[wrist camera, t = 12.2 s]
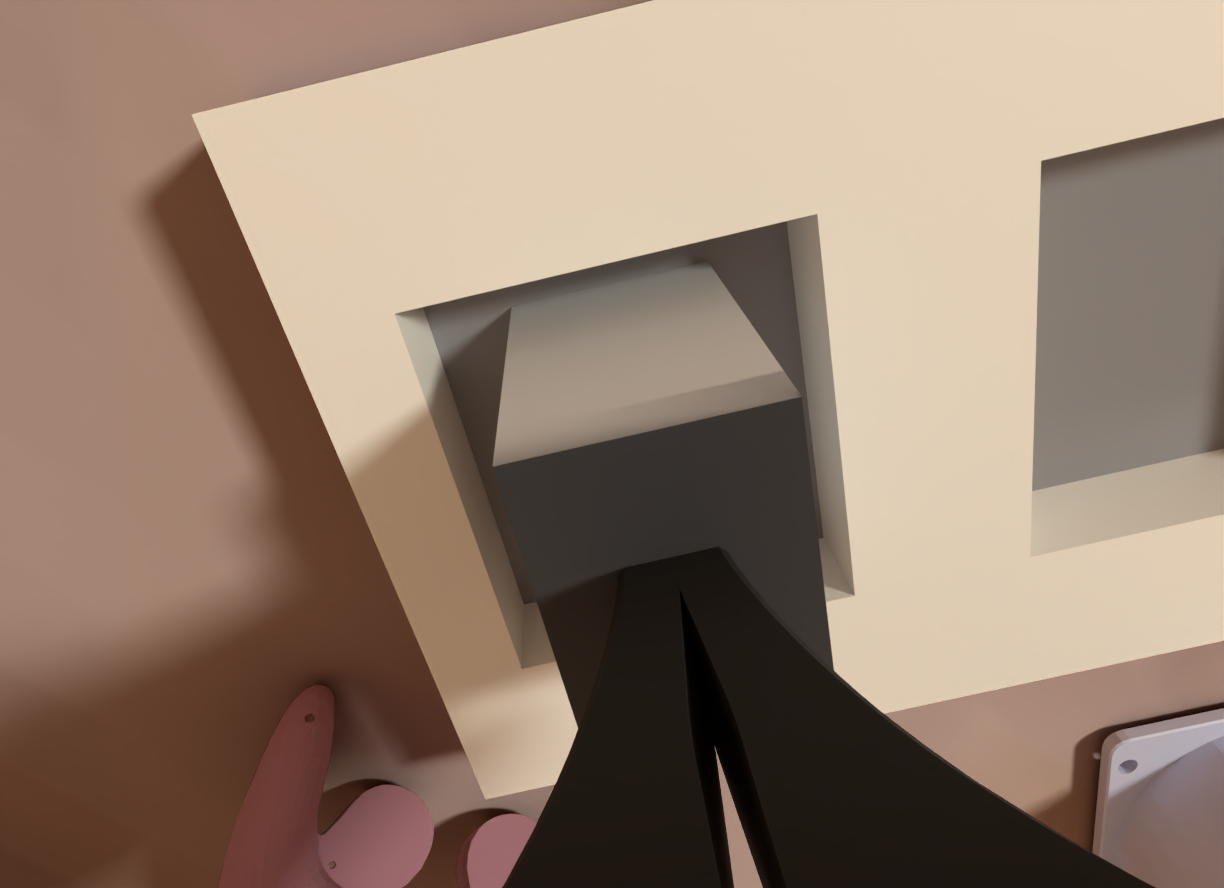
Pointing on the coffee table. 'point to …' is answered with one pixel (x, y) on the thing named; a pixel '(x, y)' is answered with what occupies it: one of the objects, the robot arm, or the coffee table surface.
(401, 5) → the coffee table surface
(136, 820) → the coffee table surface
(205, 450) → the coffee table surface
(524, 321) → the plug
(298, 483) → the coffee table surface
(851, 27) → the faceplate
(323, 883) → the video game controller
